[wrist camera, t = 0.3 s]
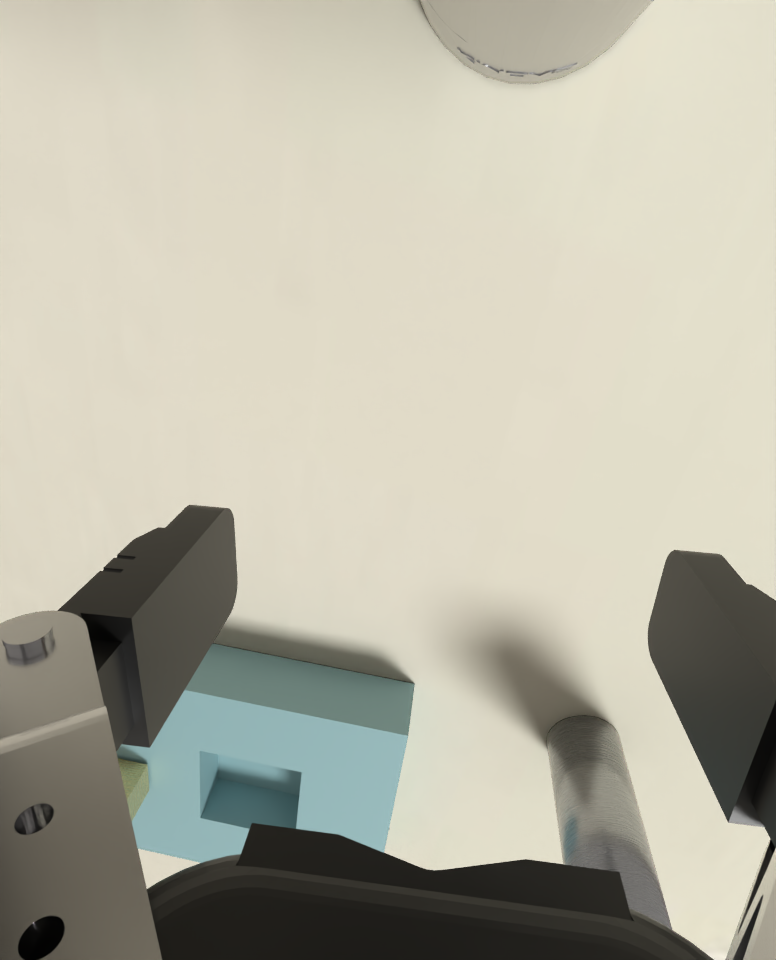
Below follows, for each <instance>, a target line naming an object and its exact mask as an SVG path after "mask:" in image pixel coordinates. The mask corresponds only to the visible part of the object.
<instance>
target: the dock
mask: <svg viewBox="0 0 776 960" xmlns="http://www.w3.org/2000/svg"><path fill="white" fill-rule="evenodd" d="M413 692H414V684H413V683H408V682H403V681H398V680H393V679H388V678H383V677H378V676H373V675H368V674H363V673H358V672H353V671H348V670H343V669H338V668H333V667H328V666H323V665H318V664H313V663H308V662H303V661H298V660H293V659H288V658H283V657H278V656H273V655H268V654H263V653H258V652H253V651H248V650H243V649H238V648H233V647H228V646H223V645H218V644H213V643H212V645H211V647H210V648H209V650H208V652H207V653H206V655H205V657H204V658H203V660H202V662H201V663H200V665H199V667H198V668H197V670H196V672H195V673H194V675H193V677H192V678H191V680H190V682H189V683H188V685H187V687H186V688H185V690H184V692H183V693H182V695H181V697H180V698H179V700H178V702H177V703H176V705H175V707H174V708H173V710H172V712H171V713H170V715H169V717H168V718H167V720H166V722H165V723H164V725H163V727H162V729H161V730H160V732H159V734H158V735H157V737H156V739H155V740H154V742H153V744H152V745H151V747H150V748H147V747H139V746H131V745H123V744H121V746H120V747H119V749H118V750H117V752H116V753H117V758H119V759H123V760H128V761H133V762H137V763H142V764H147V765H148V778H149V792H148V793H147V795H146V797H145V799H144V801H143V802H142V804H141V806H140V808H139V810H138V811H137V813H136V815H135V817H134V819H133V820H132V826H133V830H134V835H135V839H136V844H137V848H138V849H143V850H147V851H152V852H156V853H161V854H165V855H169V856H174V857H178V858H183V859H187V860H192V861H196V862H201V863H203V862H205V861H209V860H213V859H217V858H221V857H225V856H230V855H237V854H241V852H242V849H243V847H244V844H245V841H246V838H247V835H248V832H249V829H250V826H251V824H252V823H257V824H264V825H272V826H279V827H287V828H294V829H302V830H309V831H317V832H324V833H332V834H339V835H341V836H344V837H346V838H349V839H351V840H354V841H356V842H359V843H361V844H364V845H366V846H368V847H371V848H373V849H376V850H378V851H381V852H383V853H384V849H385V844H386V840H387V835H388V830H389V825H390V820H391V816H392V811H393V806H394V801H395V796H396V791H397V787H398V782H399V777H400V772H401V767H402V762H403V758H404V753H405V748H406V743H407V738H408V732H409V724H410V716H411V708H412V700H413Z"/></svg>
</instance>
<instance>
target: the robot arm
mask: <svg viewBox="0 0 776 960" xmlns="http://www.w3.org/2000/svg"><path fill="white" fill-rule="evenodd" d="M652 1H653V0H420V2H421V4H422V7H423V9H424V12H425V14H426V17H427V19H428V21H429V24H430V25H431V27H432V28H433V30H434V31H435V33H436V34H437V36H438V37H439V39H440V40H441V42H442V43H443V44H444V46H445V47H446V48H447V49H448V50H449V51H450V52H451V53H452V54H453V55H454V56H455V57H456V58H458V59H459V60H460V61H461V62H462V63H463V64H464V65H466V66H467V67H469V68H471V69H473V70H474V71H476V72H478V73H480V74H482V75H483V76H485V77H488V78H491V79H495V80H499V81H503V82H506V83H510V84H537V83H541V82H545V81H549V80H553V79H558V78H562V77H564V76H566V75H568V74H570V73H572V72H574V71H576V70H578V69H580V68H582V67H584V66H586V65H588V64H589V63H591V62H592V61H593V60H594V59H596V58H597V57H598V56H600V55H601V54H602V53H604V52H605V51H606V50H608V49H609V48H610V47H611V46H612V45H613V44H614V43H615V42H616V41H617V40H618V39H619V38H620V36H621V35H622V34H623V33H624V32H625V31H626V30H627V29H628V28H629V27H630V25H631V24H632V23H633V22H634V21H635V20H636V19H637V18H638V16H639V15H640V14H641V13H642V12H643V11H644V10H645V9H646V8H647V7H648V6H649V5H650V4H651V3H652ZM236 593H237V564H236V546H235V529H234V518H233V514H232V512H231V510H230V509H229V508H219V507H208V506H197V505H189V506H187V507H186V508H185V509H184V510H183V511H182V512H181V513H180V514H179V515H178V516H177V517H176V518H175V519H174V520H173V521H172V522H171V523H170V524H169V525H168V526H167V527H166V528H159V527H158V528H156V529H154V530H152V531H150V532H148V533H146V534H144V535H142V536H140V537H138V538H136V539H134V540H133V541H132V542H131V543H129V544H128V545H127V546H126V547H125V548H124V549H123V550H122V551H121V552H120V553H119V554H118V555H117V558H113V559H112V560H111V561H110V562H109V563H108V564H107V565H106V566H105V567H104V570H103V571H100V572H98V573H97V574H96V575H95V576H94V577H93V578H92V579H91V580H90V581H89V582H88V583H87V584H86V585H85V586H84V587H82V588H81V589H80V590H79V591H78V592H77V593H76V594H75V595H74V596H73V597H72V598H71V599H70V600H69V601H67V602H66V603H65V604H64V605H63V606H62V607H61V608H60V609H59V610H58V611H42V612H35V613H29V614H25V615H22V616H18V617H15V618H12V619H10V620H7V621H5V622H3V623H1V624H0V960H713V959H712V958H711V957H710V956H708V955H707V954H706V953H704V952H703V951H702V950H700V949H699V948H698V947H696V946H695V945H694V944H693V943H691V942H690V941H688V940H687V939H685V938H684V937H682V936H681V935H679V934H678V933H676V932H674V931H673V930H671V929H670V928H668V927H667V926H665V925H663V924H661V923H659V922H657V921H655V920H653V919H652V918H650V917H648V916H646V915H644V914H642V913H640V912H637V911H635V910H632V909H630V908H629V906H628V903H627V899H626V895H625V891H624V887H623V883H622V880H621V876H620V872H616V871H609V870H601V869H594V868H586V867H579V866H571V865H564V864H556V863H549V862H541V861H534V860H526V859H525V860H517V861H510V862H502V863H494V864H486V865H478V866H470V867H463V868H455V869H447V870H435V871H433V870H426V869H423V868H420V867H418V866H415V865H413V864H410V863H408V862H405V861H403V860H400V859H398V858H395V857H393V856H391V855H388V854H386V853H383V852H381V851H378V850H376V849H373V848H371V847H368V846H366V845H364V844H361V843H359V842H356V841H354V840H351V839H349V838H346V837H344V836H341V835H339V834H332V833H324V832H317V831H309V830H302V829H294V828H287V827H279V826H272V825H264V824H257V823H252V824H251V826H250V829H249V832H248V835H247V838H246V841H245V844H244V847H243V849H242V852H241V854H237V855H230V856H225V857H221V858H217V859H213V860H209V861H205V862H203V863H200V864H197V865H194V866H192V867H189V868H186V869H184V870H182V871H180V872H177V873H175V874H173V875H171V876H169V877H167V878H165V879H163V880H161V881H160V882H158V883H156V884H155V885H153V886H151V887H150V888H148V889H146V884H145V880H144V875H143V871H142V866H141V862H140V857H139V853H138V848H137V844H136V839H135V835H134V830H133V826H132V821H131V816H130V812H129V807H128V803H127V798H126V794H125V789H124V785H123V780H122V776H121V771H120V767H119V762H118V758H117V753H116V752H117V750H118V749H119V747H120V746H121V744H123V745H131V746H139V747H147V748H150V747H151V745H152V744H153V742H154V740H155V739H156V737H157V735H158V734H159V732H160V730H161V729H162V727H163V725H164V723H165V722H166V720H167V718H168V717H169V715H170V713H171V712H172V710H173V708H174V707H175V705H176V703H177V702H178V700H179V698H180V697H181V695H182V693H183V692H184V690H185V688H186V687H187V685H188V683H189V682H190V680H191V678H192V677H193V675H194V673H195V672H196V670H197V668H198V667H199V665H200V663H201V662H202V660H203V658H204V657H205V655H206V653H207V652H208V650H209V648H210V647H211V645H212V643H213V642H214V640H215V638H216V637H217V635H218V633H219V632H220V630H221V628H222V627H223V625H224V623H225V622H226V620H227V618H228V617H229V615H230V613H231V611H232V609H233V606H234V603H235V599H236ZM648 646H649V652H650V656H651V659H652V661H653V663H654V665H655V668H656V670H657V672H658V674H659V676H660V678H661V680H662V682H663V685H664V687H665V689H666V691H667V693H668V695H669V697H670V699H671V702H672V704H673V706H674V708H675V710H676V712H677V714H678V716H679V719H680V721H681V723H682V725H683V727H684V729H685V731H686V734H687V736H688V738H689V740H690V742H691V744H692V746H693V748H694V751H695V753H696V755H697V757H698V759H699V761H700V763H701V765H702V768H703V770H704V772H705V774H706V776H707V778H708V780H709V782H710V785H711V787H712V789H713V791H714V793H715V795H716V797H717V800H718V802H719V804H720V806H721V808H722V810H723V812H724V814H725V817H726V819H727V821H728V823H735V824H743V825H751V826H759V827H765V829H766V831H767V833H768V835H769V837H770V840H769V843H768V845H767V847H766V850H765V852H764V854H763V857H762V860H761V862H760V865H759V868H758V871H757V874H756V876H755V879H754V882H753V885H752V887H751V890H750V893H749V896H748V899H747V901H746V904H745V907H744V910H743V913H742V915H741V918H740V921H739V924H738V927H737V929H736V932H735V935H734V938H733V940H732V943H731V946H730V949H729V952H728V954H727V957H726V960H776V601H775V600H774V599H772V598H771V597H769V596H768V595H766V594H765V593H763V592H762V591H760V590H759V589H757V588H756V587H754V586H753V585H749V584H746V583H745V582H744V581H743V580H742V578H741V577H740V576H739V575H738V574H737V572H736V571H735V570H734V569H733V568H732V567H731V565H730V564H729V563H728V562H727V561H726V559H725V558H724V557H723V556H722V555H720V554H713V553H702V552H691V551H680V550H674V551H672V552H671V553H670V554H669V555H668V557H667V559H666V562H665V565H664V569H663V573H662V577H661V581H660V584H659V588H658V592H657V596H656V599H655V603H654V607H653V611H652V615H651V618H650V622H649V628H648Z"/></svg>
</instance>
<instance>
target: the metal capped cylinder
mask: <svg viewBox="0 0 776 960" xmlns="http://www.w3.org/2000/svg"><path fill="white" fill-rule="evenodd" d="M547 747H548V754H549V761H550V769H551V776H552V784H553V791H554V798H555V806H556V813H557V820H558V828H559V835H560V842H561V850H562V857H563V864H564V865H571V866H579V867H586V868H594V869H601V870H609V871H616V872H620V876H621V880H622V883H623V887H624V891H625V895H626V899H627V903H628V906H629V908H630V909H632V910H635V911H637V912H640V913H642V914H644V915H646V916H648V917H650V918H652V919H653V920H655V921H657V922H659V923H661V924H663V925H665V926H667V927H668V928H670V929H671V930H672V927H671V924H670V920H669V916H668V913H667V909H666V905H665V902H664V898H663V894H662V891H661V887H660V883H659V880H658V876H657V872H656V869H655V865H654V862H653V858H652V854H651V851H650V847H649V843H648V840H647V836H646V832H645V829H644V825H643V821H642V818H641V814H640V810H639V807H638V803H637V799H636V796H635V792H634V789H633V785H632V781H631V778H630V774H629V770H628V767H627V763H626V759H625V756H624V752H623V748H622V745H621V741H620V737H619V735H618V732H617V731H616V729H615V728H614V727H613V726H612V725H611V724H609V723H608V722H606V721H604V720H602V719H599V718H596V717H592V716H574V717H569V718H566V719H564V720H562V721H560V722H558V723H557V724H555V725H554V726H553V727H552V728H551V730H550V731H549V733H548V736H547Z"/></svg>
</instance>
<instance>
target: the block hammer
mask: <svg viewBox="0 0 776 960" xmlns="http://www.w3.org/2000/svg"><path fill="white" fill-rule="evenodd" d="M118 762H119V767H120V771H121V776H122V780H123V785H124V789H125V794H126V798H127V803H128V807H129V812H130V816H131V821H132V820H133V819H134V817H135V815H136V813H137V811H138V810H139V808H140V806H141V804H142V802H143V801H144V799H145V797H146V795H147V793H148V792H149V778H148V765H147V764H142V763H137V762H133V761H128V760H123V759H119V758H118Z"/></svg>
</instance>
